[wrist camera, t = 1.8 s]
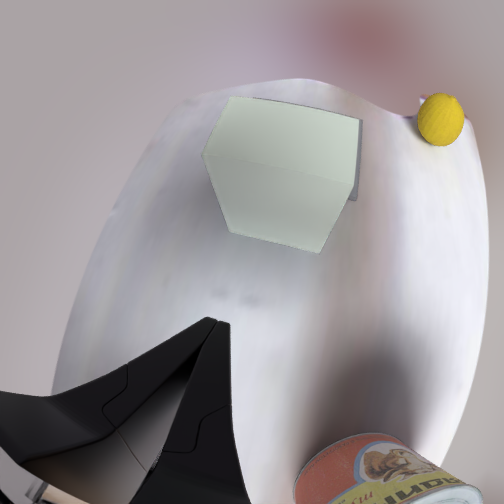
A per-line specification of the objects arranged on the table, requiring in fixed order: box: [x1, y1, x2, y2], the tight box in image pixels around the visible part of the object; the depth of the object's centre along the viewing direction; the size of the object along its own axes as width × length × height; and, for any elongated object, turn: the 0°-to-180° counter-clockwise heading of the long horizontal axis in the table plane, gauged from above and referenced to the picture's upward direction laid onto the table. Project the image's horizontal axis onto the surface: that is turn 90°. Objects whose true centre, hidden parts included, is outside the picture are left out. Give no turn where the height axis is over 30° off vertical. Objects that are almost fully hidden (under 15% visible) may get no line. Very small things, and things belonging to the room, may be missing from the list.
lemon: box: [417, 93, 464, 146], centre depth 23 cm, size 6×6×8 cm
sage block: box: [202, 96, 359, 254], centre depth 19 cm, size 5×8×11 cm, turn 74°
